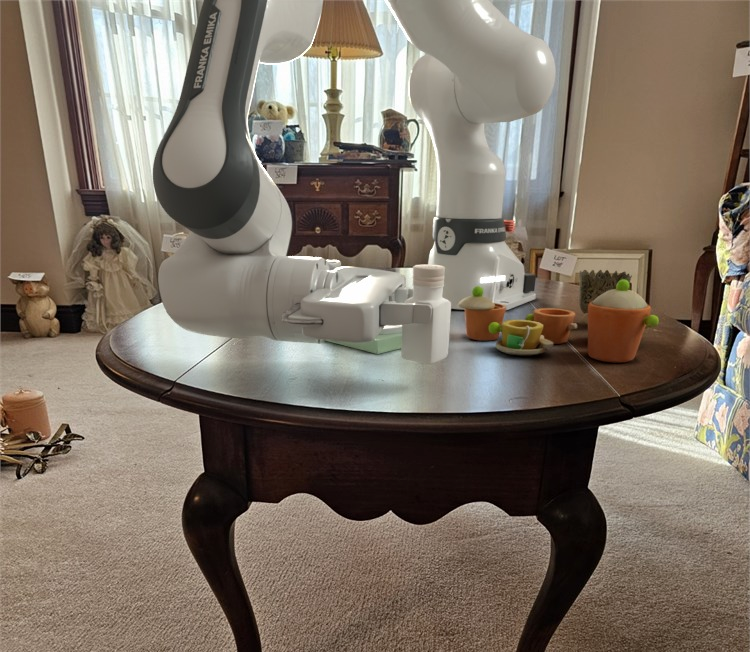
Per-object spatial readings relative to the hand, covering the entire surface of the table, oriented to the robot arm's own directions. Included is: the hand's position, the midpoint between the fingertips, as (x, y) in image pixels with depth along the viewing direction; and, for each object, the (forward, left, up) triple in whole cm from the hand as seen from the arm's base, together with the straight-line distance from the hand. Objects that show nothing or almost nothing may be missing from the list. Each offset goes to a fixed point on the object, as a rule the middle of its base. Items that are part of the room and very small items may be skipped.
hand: (435, 307), depth 68 cm
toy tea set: (-26, -1, -9) cm, 28 cm away
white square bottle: (0, -1, -6) cm, 6 cm away
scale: (-12, -20, -9) cm, 25 cm away
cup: (-43, -3, -9) cm, 44 cm away
